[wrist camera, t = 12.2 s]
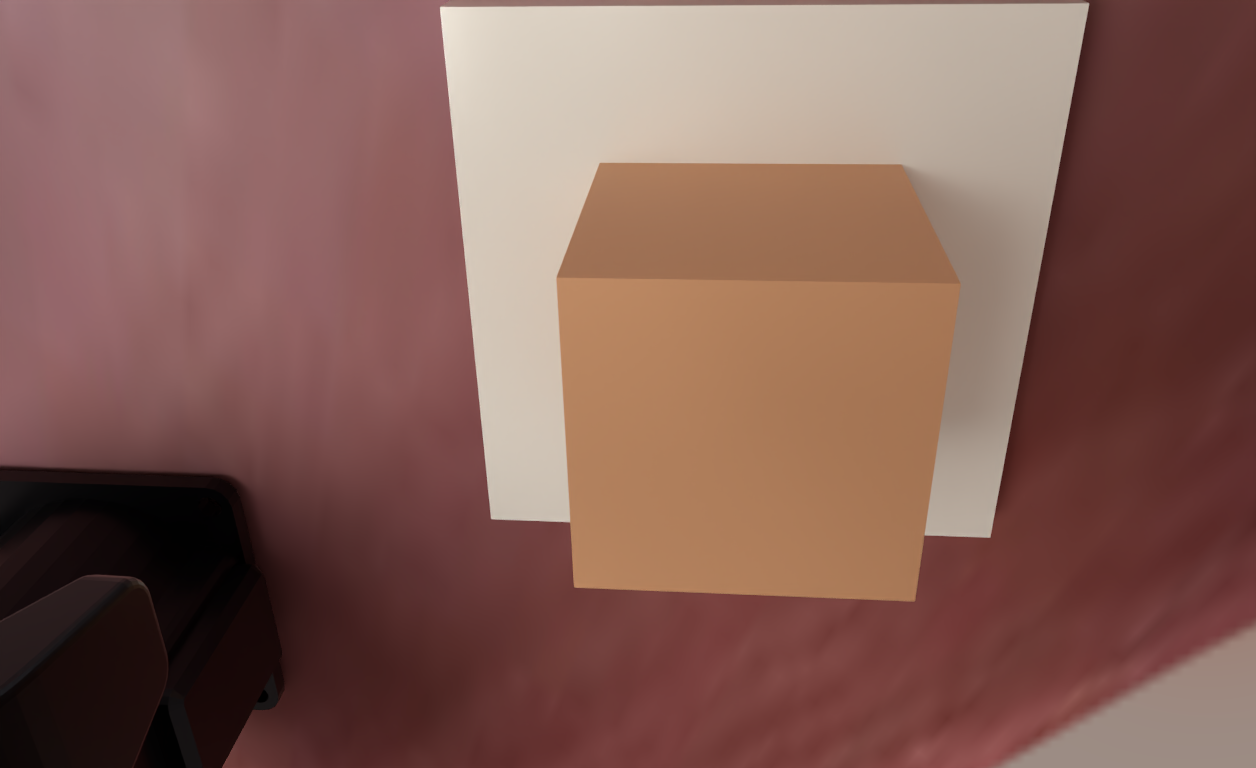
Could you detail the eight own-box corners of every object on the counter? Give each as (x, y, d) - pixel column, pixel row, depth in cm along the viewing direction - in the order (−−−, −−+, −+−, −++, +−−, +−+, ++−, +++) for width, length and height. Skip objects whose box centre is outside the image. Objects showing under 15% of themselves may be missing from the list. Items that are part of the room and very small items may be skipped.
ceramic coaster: (500, 491, 22) (491, 519, 21) (454, -3, 17) (440, 7, 16) (979, 507, 21) (990, 537, 20) (1070, -6, 16) (1089, 3, 16)
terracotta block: (608, 417, 20) (573, 587, 15) (600, 162, 17) (556, 278, 13) (872, 425, 19) (914, 601, 15) (901, 164, 17) (960, 283, 13)
